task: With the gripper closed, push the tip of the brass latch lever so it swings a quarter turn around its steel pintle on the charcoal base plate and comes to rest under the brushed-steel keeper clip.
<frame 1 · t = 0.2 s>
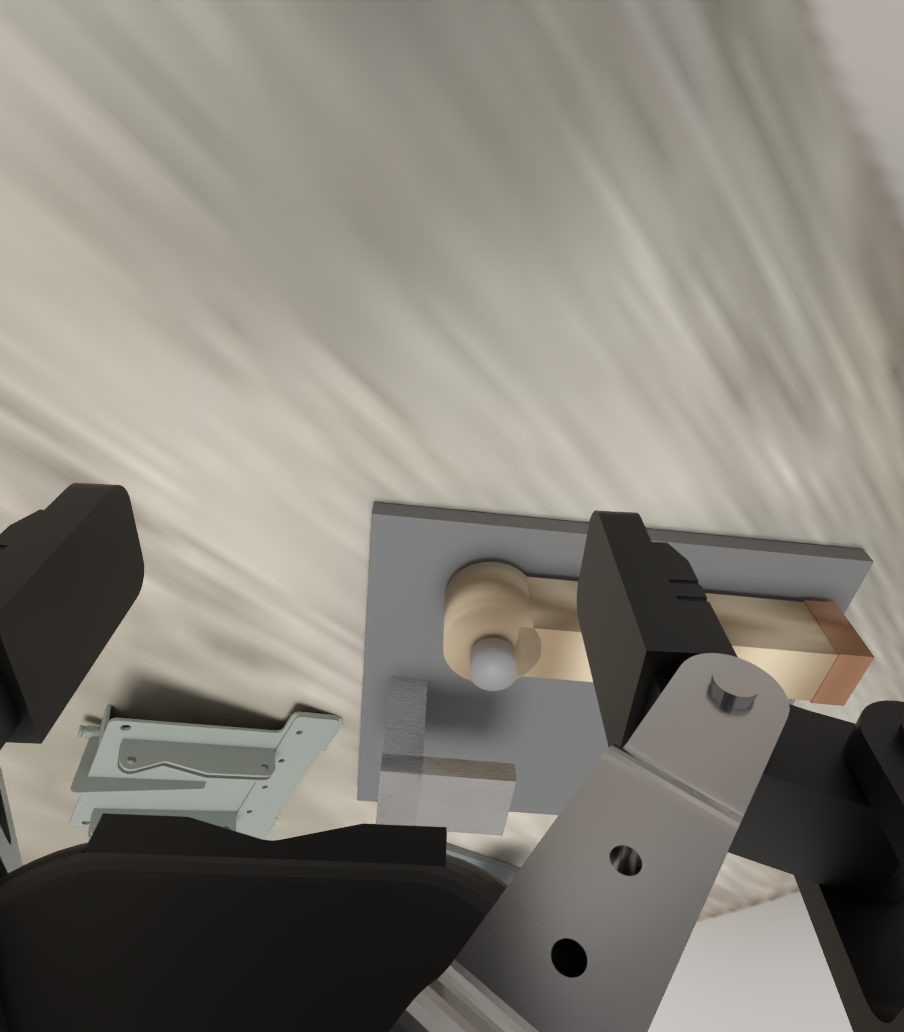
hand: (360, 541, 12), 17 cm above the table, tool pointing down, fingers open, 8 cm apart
base plate: (488, 579, 34), on the table
brass latch lever: (645, 636, 32), point 3 cm above the table, hinge at 90.0°
steel keeper: (444, 753, 36), point 4 cm above the table
shower valve: (461, 882, 51), on the table
metal bracket: (207, 746, 43), on the table
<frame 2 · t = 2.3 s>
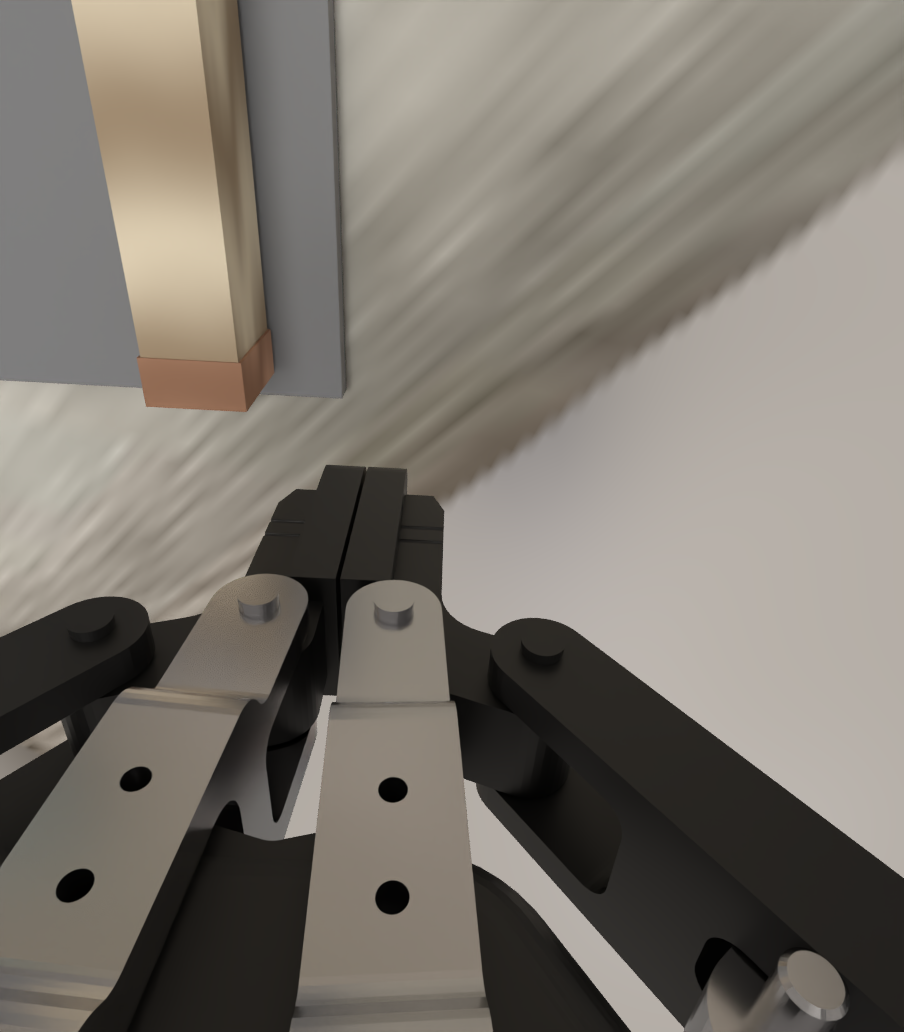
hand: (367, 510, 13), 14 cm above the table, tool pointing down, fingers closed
brass latch lever: (167, 49, 18), point 3 cm above the table, hinge at 90.0°
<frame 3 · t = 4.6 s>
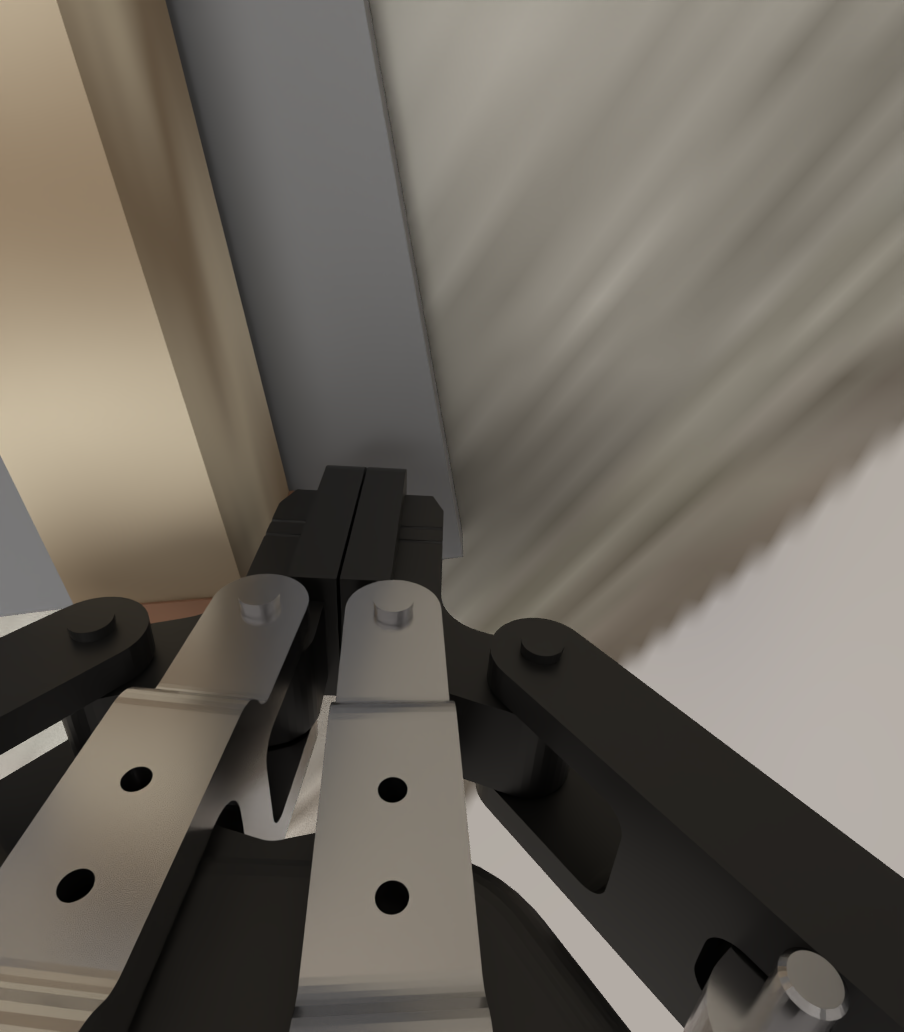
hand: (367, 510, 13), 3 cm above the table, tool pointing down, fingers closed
brass latch lever: (18, 44, 9), point 3 cm above the table, hinge at 86.5°, touching gripper
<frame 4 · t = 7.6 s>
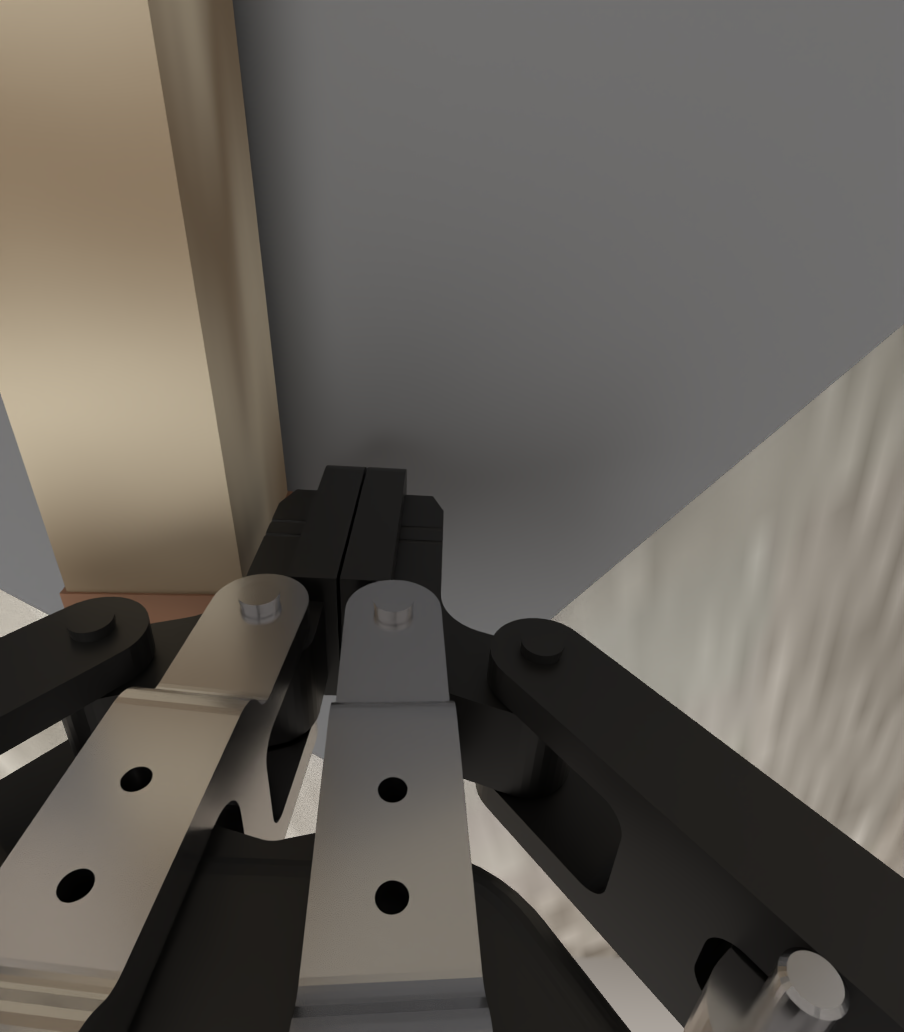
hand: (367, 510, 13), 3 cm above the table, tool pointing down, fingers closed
brass latch lever: (85, 24, 9), point 3 cm above the table, hinge at 39.1°, touching gripper
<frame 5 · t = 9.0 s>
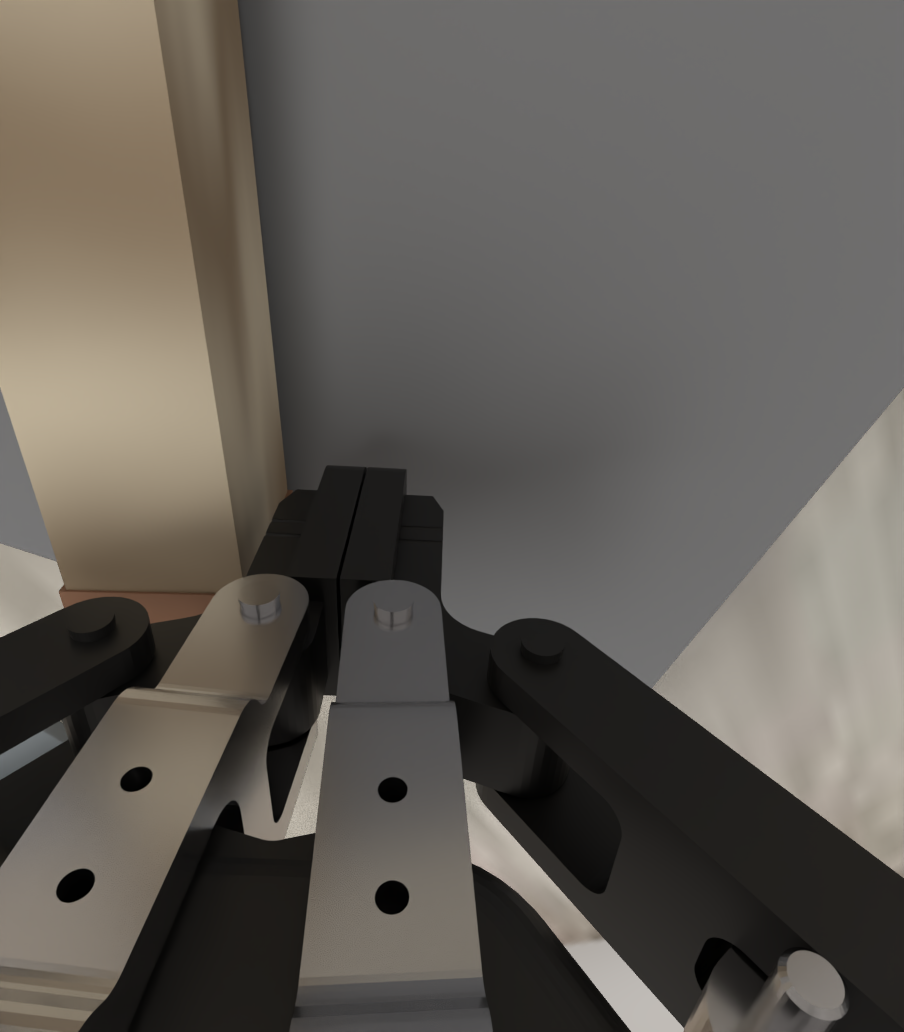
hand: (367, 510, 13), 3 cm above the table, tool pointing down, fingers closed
brass latch lever: (89, 20, 9), point 3 cm above the table, hinge at 22.2°, touching gripper
shower valve: (23, 794, 23), on the table
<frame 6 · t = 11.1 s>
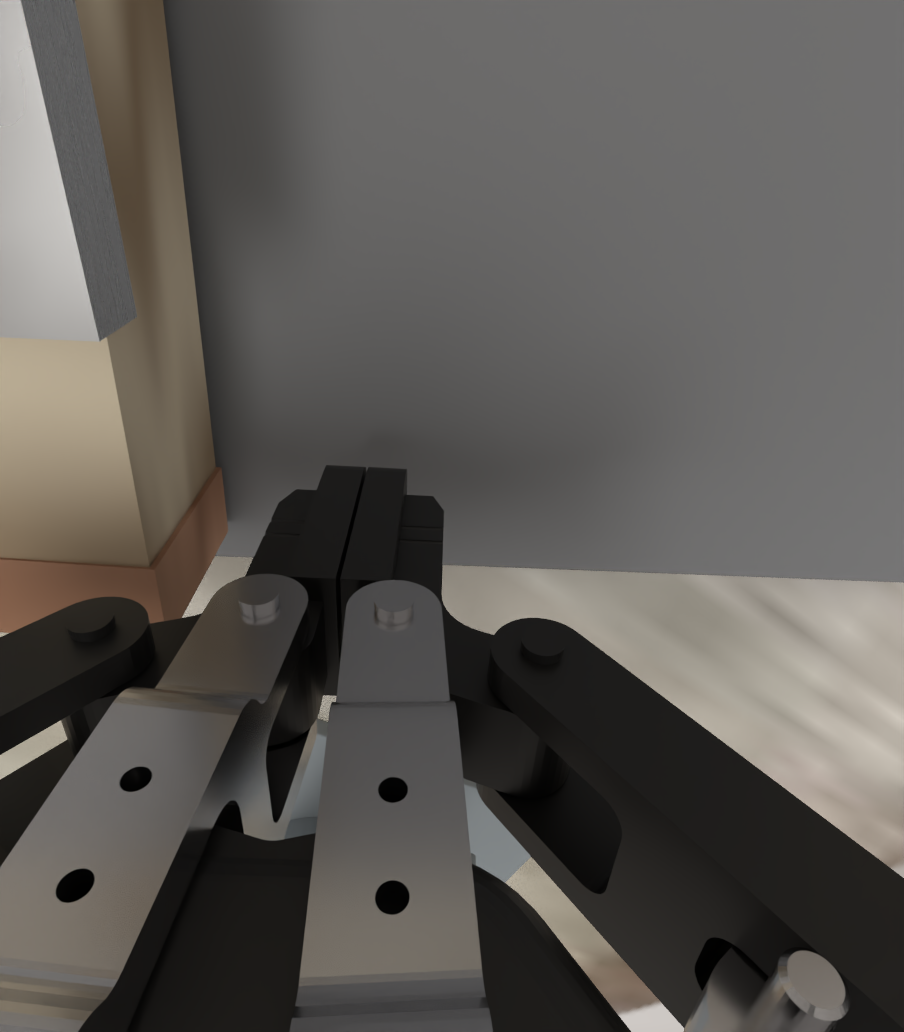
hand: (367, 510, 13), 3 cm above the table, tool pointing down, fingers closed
shower valve: (337, 815, 24), on the table
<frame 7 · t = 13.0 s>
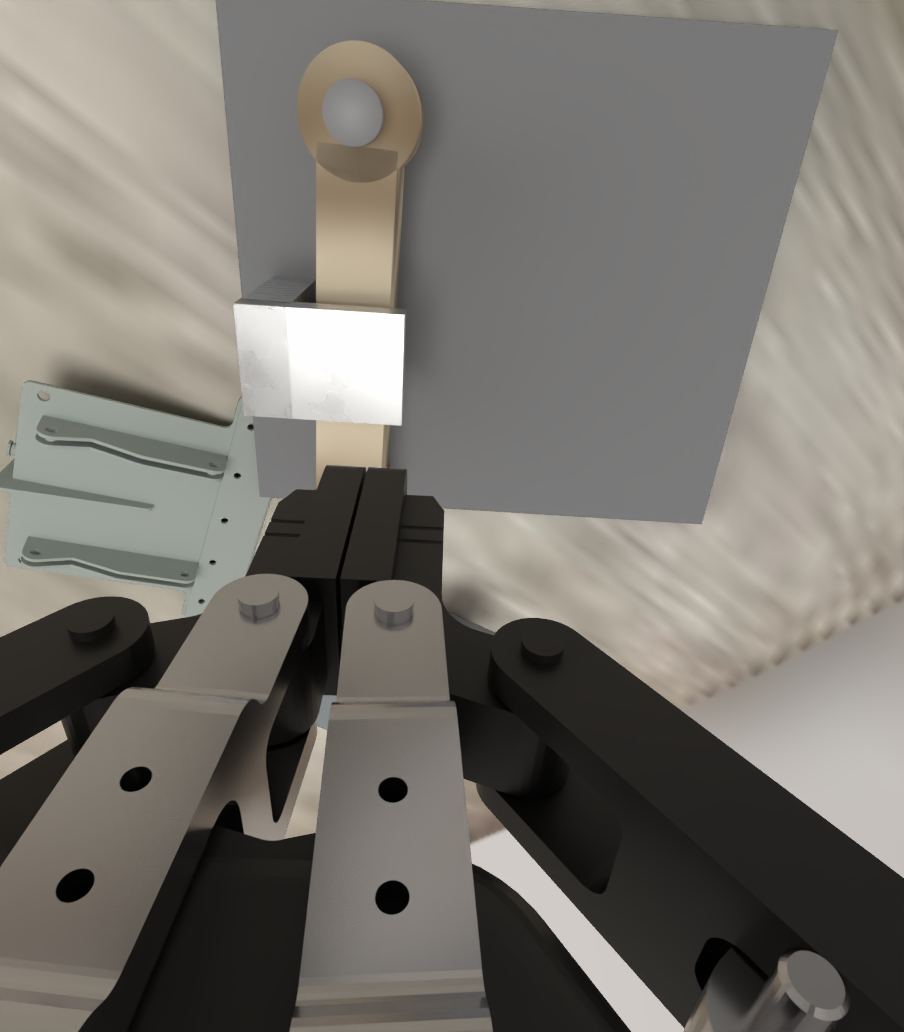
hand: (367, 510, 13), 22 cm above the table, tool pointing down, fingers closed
base plate: (374, 118, 29), on the table
brass latch lever: (358, 312, 29), point 3 cm above the table, hinge at -2.2°
steel keeper: (333, 347, 29), point 4 cm above the table
shower valve: (413, 659, 44), on the table
metal bracket: (159, 482, 38), on the table
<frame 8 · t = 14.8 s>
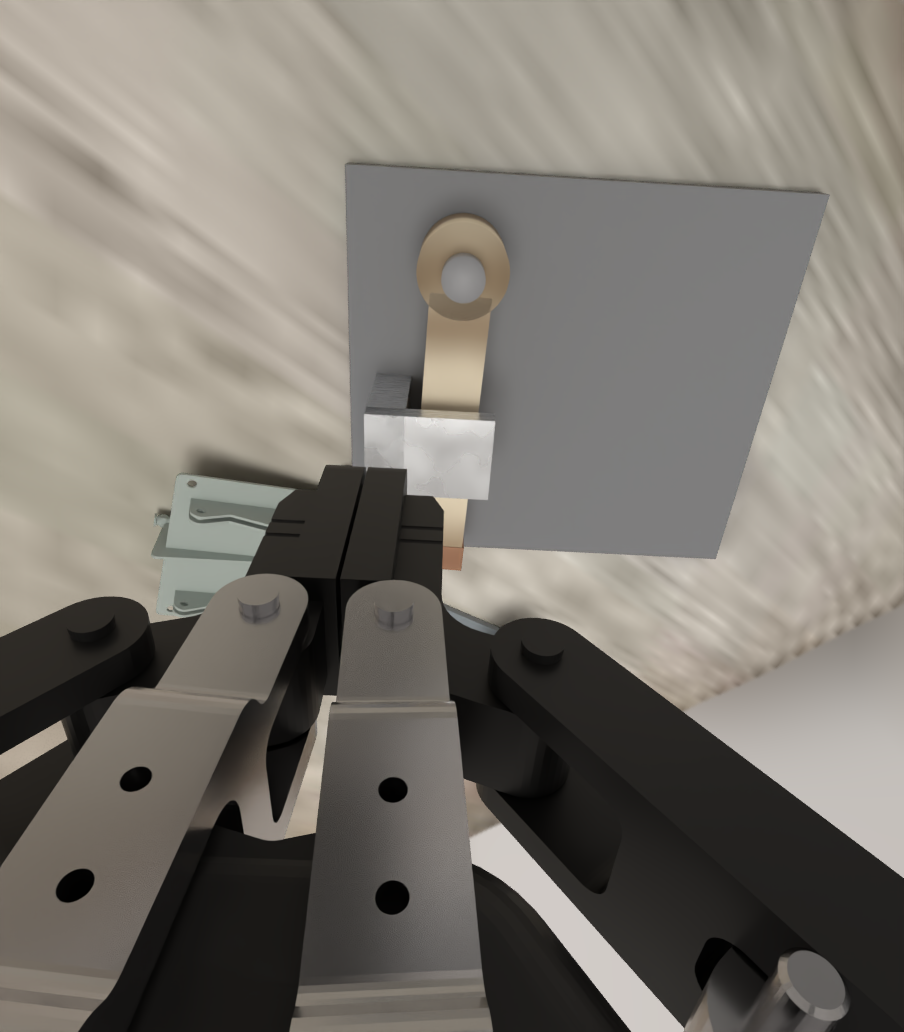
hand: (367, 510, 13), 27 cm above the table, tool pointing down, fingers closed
base plate: (462, 254, 36), on the table
brass latch lever: (449, 406, 37), point 3 cm above the table, hinge at -2.2°
steel keeper: (430, 434, 37), point 4 cm above the table
shower valve: (470, 666, 52), on the table
metal bracket: (271, 536, 46), on the table
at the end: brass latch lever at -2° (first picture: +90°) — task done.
